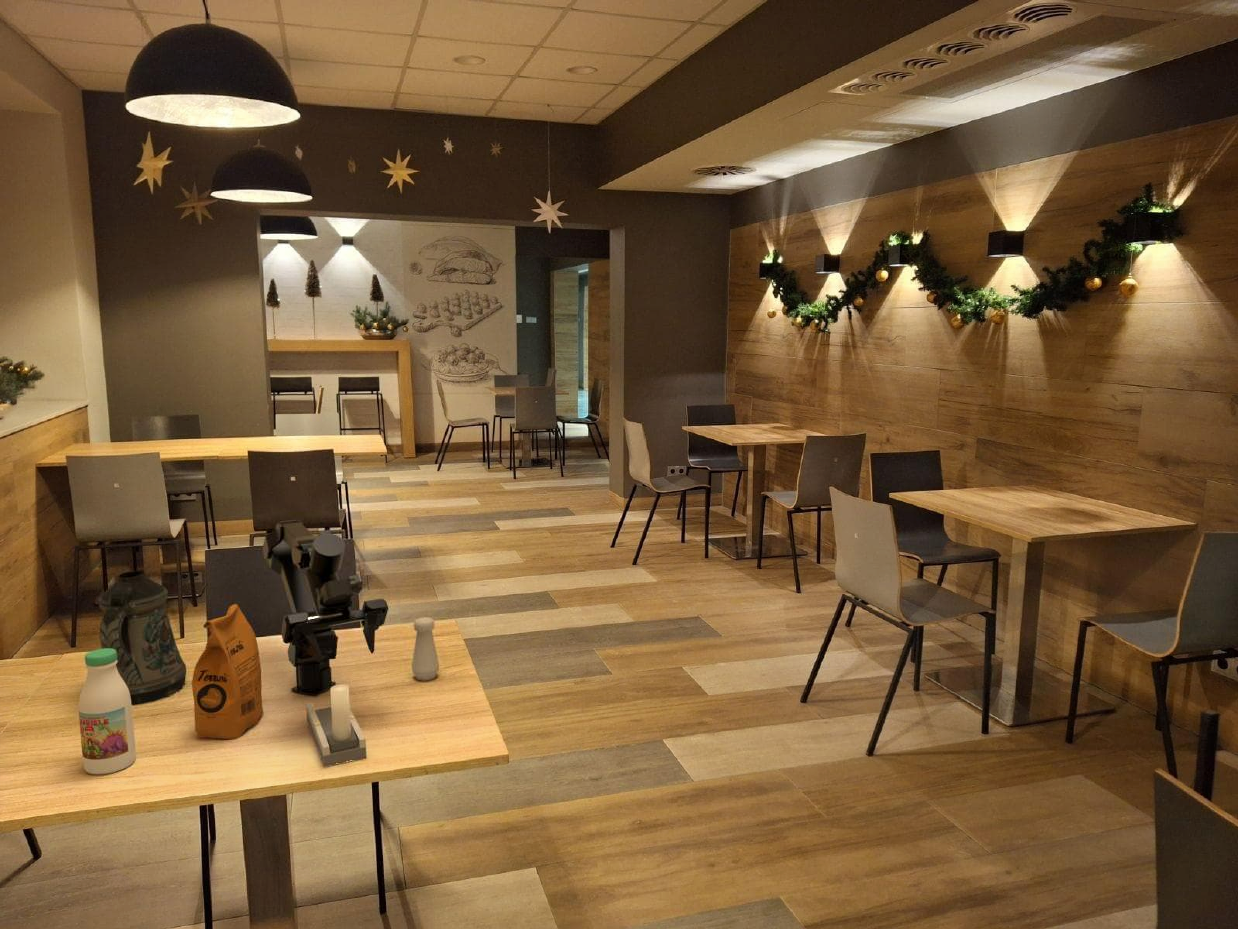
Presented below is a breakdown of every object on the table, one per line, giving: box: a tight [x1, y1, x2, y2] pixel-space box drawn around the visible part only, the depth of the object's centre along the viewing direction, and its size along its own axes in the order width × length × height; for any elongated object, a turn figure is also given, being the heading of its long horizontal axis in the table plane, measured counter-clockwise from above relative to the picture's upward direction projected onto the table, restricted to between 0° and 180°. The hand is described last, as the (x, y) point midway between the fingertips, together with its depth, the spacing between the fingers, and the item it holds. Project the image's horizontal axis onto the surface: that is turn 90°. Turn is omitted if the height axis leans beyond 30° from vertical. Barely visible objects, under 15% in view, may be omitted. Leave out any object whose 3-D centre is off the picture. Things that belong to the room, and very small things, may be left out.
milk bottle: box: [78, 648, 137, 775], centre depth 144 cm, size 8×8×20 cm
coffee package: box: [191, 603, 264, 740], centre depth 159 cm, size 10×12×22 cm
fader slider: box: [327, 684, 358, 752], centre depth 148 cm, size 4×4×10 cm
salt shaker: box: [411, 616, 440, 682], centre depth 183 cm, size 6×6×13 cm
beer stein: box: [97, 570, 187, 706], centre depth 174 cm, size 16×19×25 cm
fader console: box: [305, 702, 367, 768], centre depth 155 cm, size 20×7×4 cm, turn 28°
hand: (347, 657), depth 155 cm, fingers open, 9 cm apart
